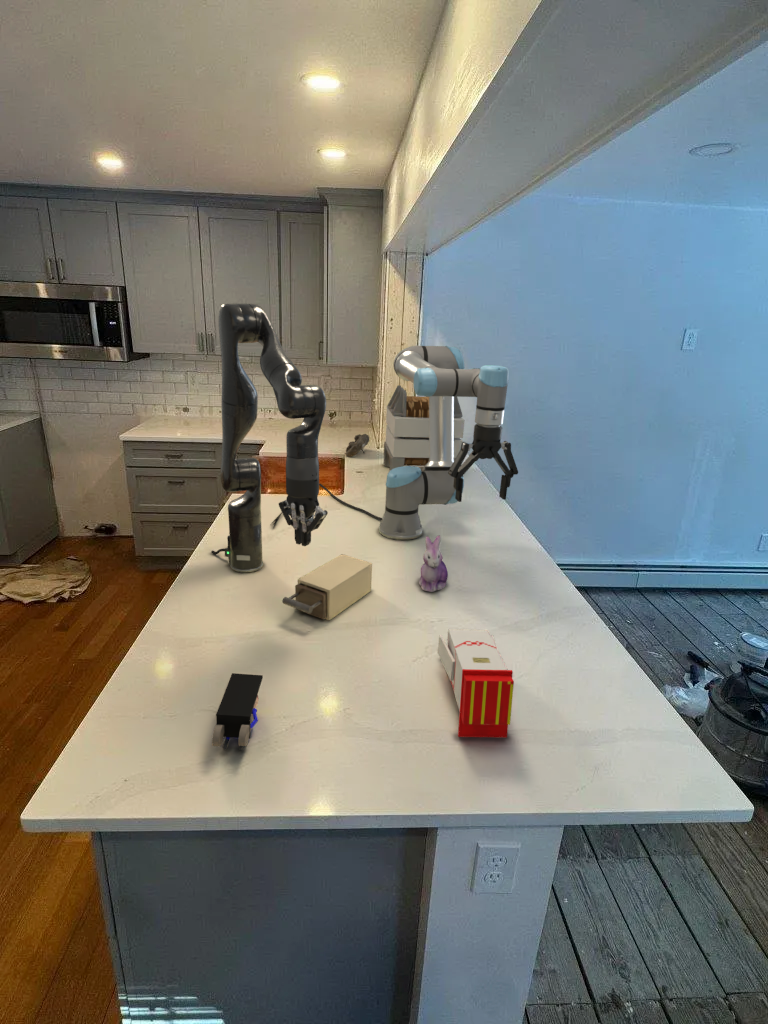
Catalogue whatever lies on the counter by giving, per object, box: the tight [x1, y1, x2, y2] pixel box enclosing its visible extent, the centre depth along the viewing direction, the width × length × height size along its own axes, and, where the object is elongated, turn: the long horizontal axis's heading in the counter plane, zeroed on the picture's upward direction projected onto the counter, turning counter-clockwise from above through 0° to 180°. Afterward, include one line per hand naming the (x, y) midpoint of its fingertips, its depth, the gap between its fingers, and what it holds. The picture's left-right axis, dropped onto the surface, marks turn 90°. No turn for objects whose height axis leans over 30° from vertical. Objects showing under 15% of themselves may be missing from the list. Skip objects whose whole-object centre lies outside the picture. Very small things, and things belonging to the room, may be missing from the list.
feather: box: [270, 512, 283, 529], centre depth 212 cm, size 2×28×2 cm
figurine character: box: [211, 672, 264, 751], centre depth 104 cm, size 7×8×15 cm
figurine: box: [418, 535, 449, 593], centre depth 161 cm, size 9×10×15 cm
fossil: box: [345, 433, 370, 458], centre depth 306 cm, size 22×10×15 cm
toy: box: [437, 628, 515, 738], centre depth 117 cm, size 12×13×30 cm
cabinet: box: [297, 553, 373, 621], centre depth 152 cm, size 20×10×9 cm, turn 149°
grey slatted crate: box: [383, 384, 465, 471], centre depth 268 cm, size 34×33×41 cm
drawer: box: [281, 583, 327, 620], centre depth 148 cm, size 24×9×7 cm, turn 149°
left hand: (302, 544), depth 135 cm, fingers closed
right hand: (480, 499), depth 160 cm, fingers open, 13 cm apart
